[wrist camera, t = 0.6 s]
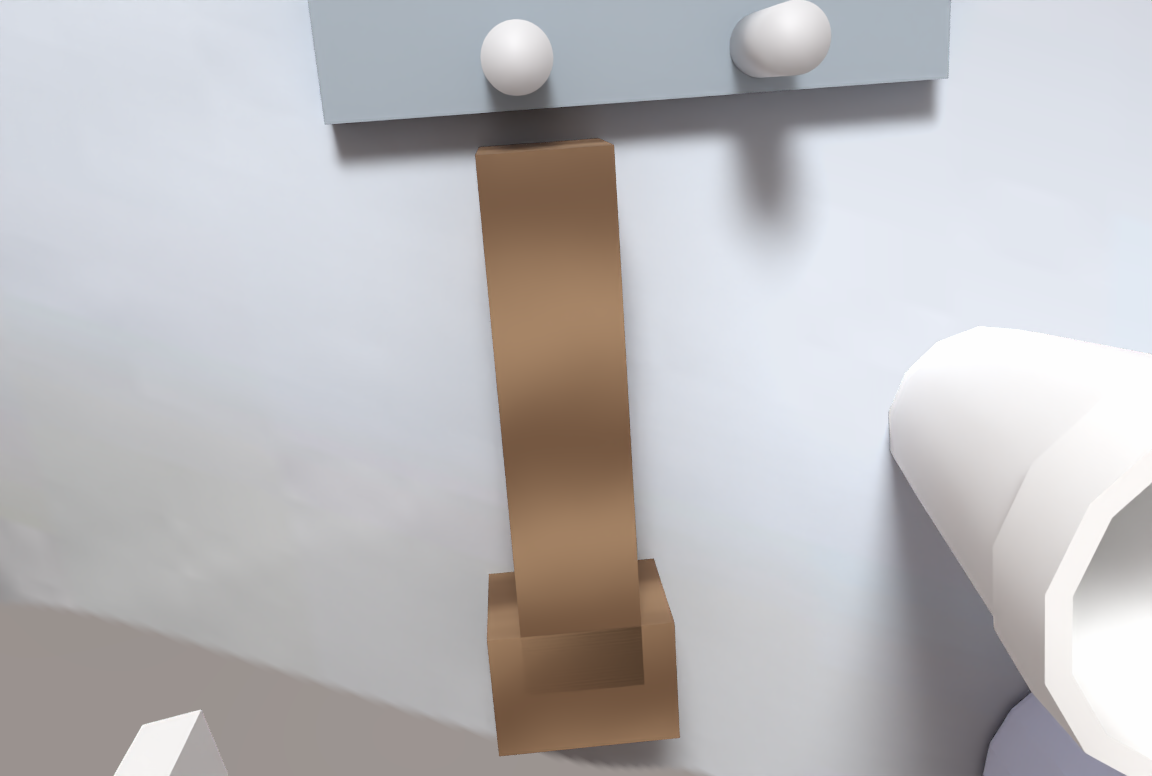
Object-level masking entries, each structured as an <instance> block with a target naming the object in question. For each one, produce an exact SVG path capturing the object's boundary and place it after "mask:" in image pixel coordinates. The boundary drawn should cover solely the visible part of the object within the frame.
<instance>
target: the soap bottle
mask: <svg viewBox="0 0 1152 776" xmlns="http://www.w3.org/2000/svg"><path fill="white" fill-rule="evenodd" d="M983 776H1127V775H1125V774H1123V773H1121V772H1119V771H1117V770H1116V769H1114V768H1112V767H1110V766H1108V765H1106V764H1104V763H1103V762H1101V761H1099V760H1097V759H1095V758H1093V757H1092V756H1090V755H1088V754H1086V753H1085V752H1084V751H1083V750H1082V749H1081V748H1080V746H1079V745H1078V744H1077V743H1076V742H1075V741H1074V740H1073V739H1072V737H1071V736H1070V735H1069V734H1068V733H1067V732H1066V731H1065V730H1064V728H1063V727H1062V726H1061V725H1060V724H1059V723H1058V722H1057V720H1056V719H1055V718H1054V717H1053V716H1052V715H1051V714H1050V713H1049V711H1048V710H1047V709H1046V708H1045V707H1044V706H1043V705H1042V704H1041V702H1040V701H1039V700H1038V699H1037V698H1036V697H1035V696H1034V694H1033V693H1032V692H1031V693H1030V694H1029V695H1027V696H1026V697H1025V698H1024V699H1023V700H1022V701H1020V702H1019V703H1018V704H1017V705H1016V706H1015V707H1013V708H1012V709H1011V711H1010V712H1009V714H1008V715H1007V717H1006V718H1005V720H1004V722H1003V723H1002V725H1001V726H1000V728H999V729H998V731H997V733H996V734H995V736H994V737H993V739H992V740H991V742H990V745H989V749H988V754H987V758H986V762H985V767H984V771H983Z"/></svg>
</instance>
